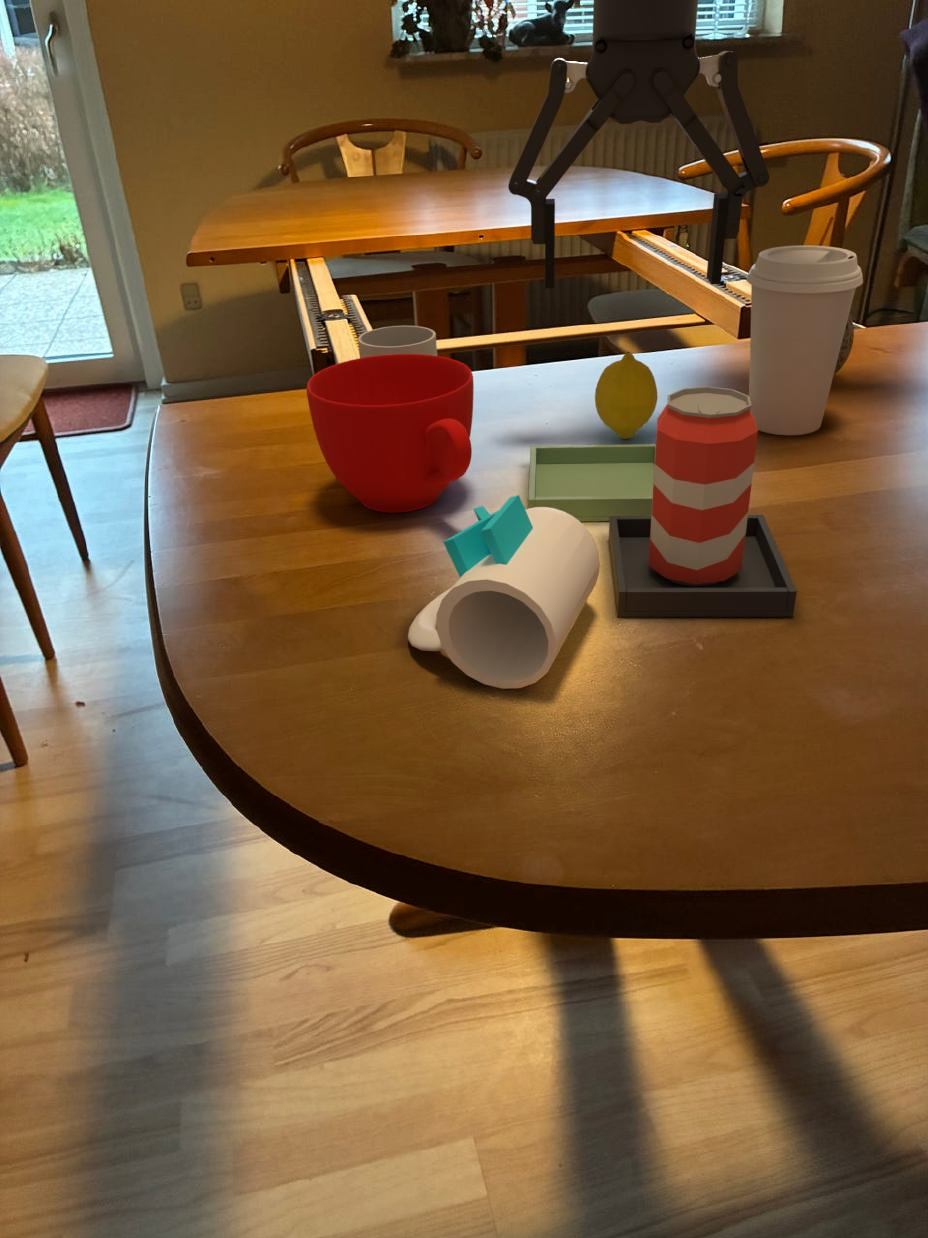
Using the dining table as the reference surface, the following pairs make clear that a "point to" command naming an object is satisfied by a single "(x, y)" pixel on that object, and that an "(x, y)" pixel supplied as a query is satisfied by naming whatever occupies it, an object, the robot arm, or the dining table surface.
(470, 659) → the mug
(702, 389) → the beverage can
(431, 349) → the cup
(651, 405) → the fruit
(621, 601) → the charcoal tray
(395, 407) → the ceramic cup
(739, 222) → the robot arm
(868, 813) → the dining table surface
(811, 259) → the coffee cup
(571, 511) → the green tray
